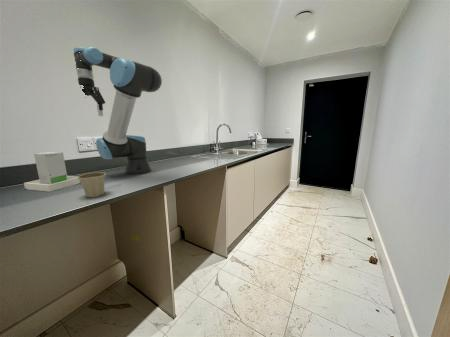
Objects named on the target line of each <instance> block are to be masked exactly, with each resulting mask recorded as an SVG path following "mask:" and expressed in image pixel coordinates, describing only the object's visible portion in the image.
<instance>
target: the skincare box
mask: <svg viewBox="0 0 450 337" xmlns="http://www.w3.org/2000/svg"><path fill="white" fill-rule="evenodd" d="M33 156H34V160H35V163H36V170H37V174H38V180H40V184H48V185H50V184H54V183H58V182H62V181H66V180H68V177H67V176H68V173H67V172H68V171H67V168H66V162H65V157H64V152H63V151H61V152H60V151H53V152H52V151H50V152H38V153H37V152H35V153H33Z"/></svg>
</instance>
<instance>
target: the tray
mask: <svg viewBox="0 0 450 337" xmlns="http://www.w3.org/2000/svg"><path fill="white" fill-rule="evenodd" d="M67 177H68V180H66V181H62V182H58V183H54V184H50V185H48V184H40V180H39V179H36V180H31V181H28V182H26V181H25V182H23V185H24V189H25V190H27V191H28V190H29V191H37V192H38V191H39V192H47V193H48V192H54V191H58V190H61V189H65V188H69V187H72V186H75V185H79V184H82V183H81V182H80V180H79V179H78V178H77V177H78V176H72V175H67Z"/></svg>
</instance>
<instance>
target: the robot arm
mask: <svg viewBox="0 0 450 337" xmlns="http://www.w3.org/2000/svg"><path fill="white" fill-rule="evenodd" d="M79 52H80V53H79ZM73 57H75V58H74V61H75V62H76V64H75V68H76V76H77V75H78V76H77V77H78V78H77V82H78V85H79V86H80V85H83V86H84V87H83V88H84V89H82V91H83V92H84V93H85V95H87V97H88V96H89V97H90V96H91V97H92V99H94V102H96V109H97V110H96V111H97V116H98V117H104V112H103V111H104V107H103V105H105V104H106V101H105V99H104V97H103V95H102V94H101V92H100V88H99V87H98V86H96V85H95V80H94V78H95V77H94V71H93V66H96V67H100V68H103V69H108V70H109V78H110V82H111V84H113V85H112V86H113V89H115V96H114V101H113V105H112V108H111V112H110V119H109V123H108V128H107V131H104V132H103V134H102V138H101V137H98V138H97V139H96V141H95V145H96V150H97V152H98V154H99V155H100V157H101V158H102V159H104V160H114V159H121V158H126V164H125V168H124V172H125V173H124V174H127V175H142V174H147V173H151V171H152V167H151V166H150V165H151V164H150V162H149V160H148V155H147V153H148V152H147V143H146V138H145V137H144V136H140V135H133V134H131V135H130V134H127V132H128V129H129V126H130V122H131V118H132V115H133V111H134V108H135V104H136V101H137V99H140V98H141V96H142V93H143V92H146V93H155V92H157V91H159V90H160V88H161V87H162V82H163V79H162V76H161V74H160V73H159V71H158V70H156V69H155V68H153V67H152V66H148V65H145V64H142V63H139V62H137V61H134V60H131V59H127V58H124V57H117V56H114V55H110V54H108V53H104V52H102V51H101V50H100V49H99V48H97V47H95V46H88V47H86V48H85V47H83V46H82V47H80V46H75V47H73ZM80 60H81V61H80ZM75 62H74V63H75ZM77 68H79V69H77Z"/></svg>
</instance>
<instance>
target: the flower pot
mask: <svg viewBox="0 0 450 337" xmlns="http://www.w3.org/2000/svg"><path fill="white" fill-rule="evenodd" d="M106 175H107V174H106V173H105V172H98V171H97V172H90V173H84V174H81V175H78V176H76V177H77V178H78V179H79V180H80V182H81V183H80V184H81V186H82V188H83V191H84V194H85V197H87V198H97V197H100V196H102V195H104V194H105V178H106Z"/></svg>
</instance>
